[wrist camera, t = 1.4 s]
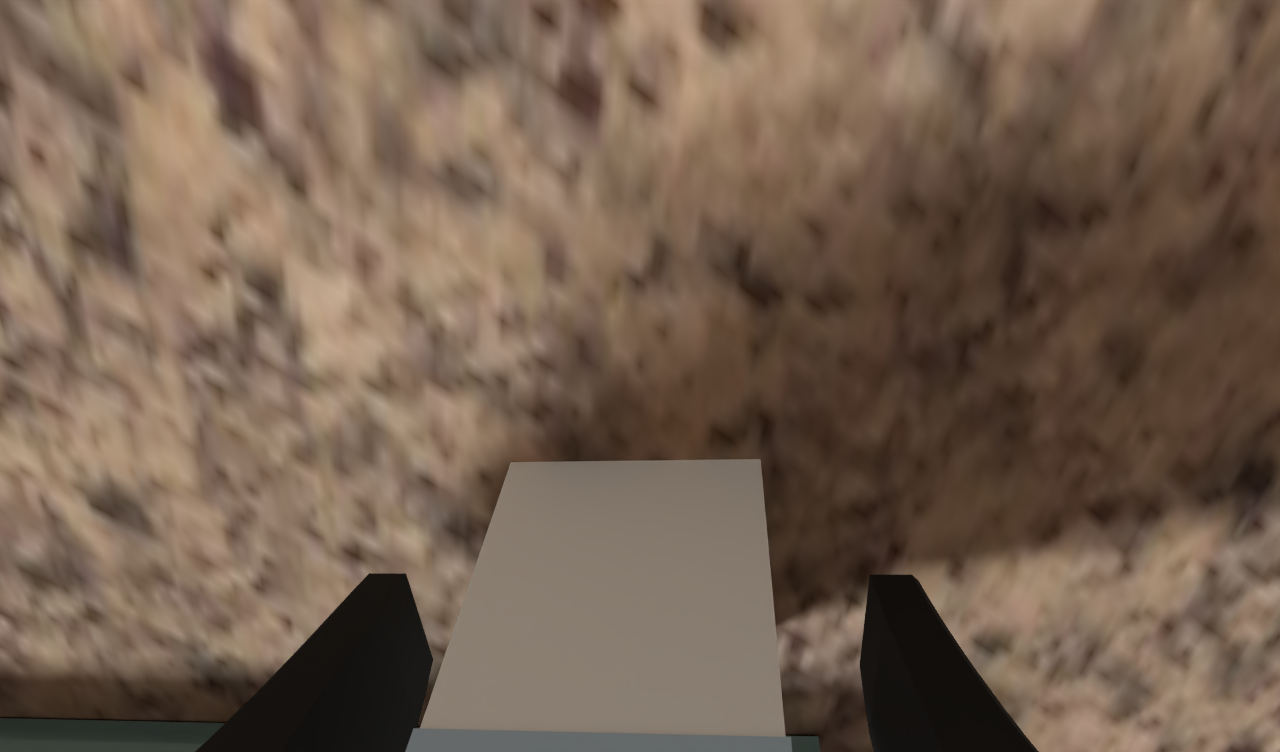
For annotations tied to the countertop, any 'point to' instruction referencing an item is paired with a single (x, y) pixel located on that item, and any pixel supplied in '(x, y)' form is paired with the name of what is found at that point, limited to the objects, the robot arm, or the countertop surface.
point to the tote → (147, 736)
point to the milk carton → (616, 616)
